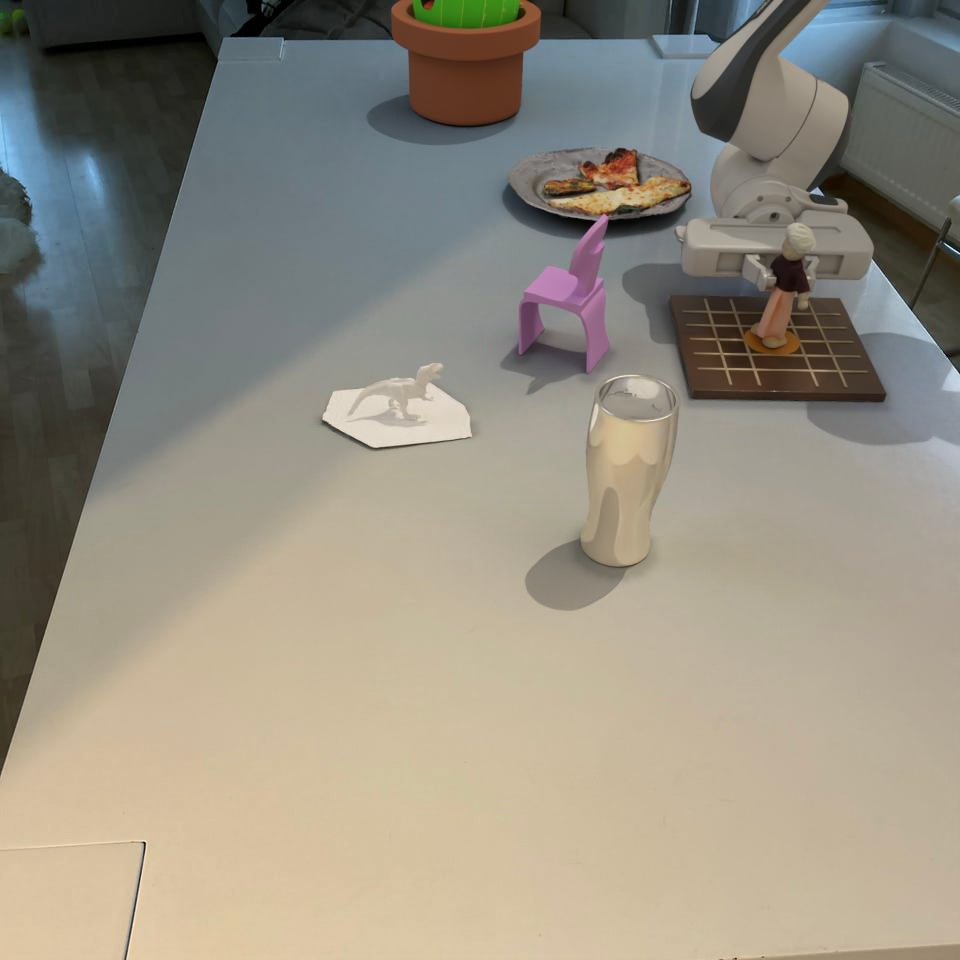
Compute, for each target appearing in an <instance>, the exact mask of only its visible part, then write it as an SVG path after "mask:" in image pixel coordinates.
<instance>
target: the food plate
mask: <svg viewBox="0 0 960 960" xmlns="http://www.w3.org/2000/svg"><path fill="white" fill-rule="evenodd" d="M507 179H508V183H509V185H510V186H511V187H512V190H513V191H514V193H515V194H516V195H518V196H519V197H520V198H521V199H522V200H523V201H524V202H525V203H526V204H528V205H530V206H532V207H534V208H538V209H541V210H544V211H546V212H549V213H551V214H554V215H558V216H560V218H565V219H567V218H568V217H570V218H575V219H576V218H577V219H581V220H586V221H595V222H597V221H598V220H599V219H600V218H601V216H602V215H603V214H605V215H606V216H607V217H608V221H616V220H619V219H620V220H622V219H623V220H627V219H640V218H641V217H648V216H652V215H654V216H657V215H661V216H662V215H666V214H669V213H672V212H673V213H675V212H676V211H679V210H680V209H682V208H683V207H684V205H685V204H686V203H687V202H688V201H689V200H690V199H691V198H692V197H693V192H692V187H693V186H692V183H691V181H689V178H688V177H687V176H686V175H685V173H684V172H683V171H682V170H681V169H679V168H677V167H676V166H674V165H673V164H671V163H669V162H668V161H666V160H665V161H664V160H661V159H659V158H657V157H653V156H651V155H648V154H646V153H641V152H638V149H636V148H633V149H627V148H626V147H617V148H612V149H607V148H599V147H595V146H594V147H585V148H584V147H581V148H577V147H576V148H573V149H572V148H571V149H568V148H567V149H562V150H561V149H559V150H553V151H546V152H544V151H543V152H536V153H534V154H531V155H529V156H526V157H523V158H522V159H520V160H519V161H517V163H516V164H514V165H513V166H512V168H510V170H509V171H508V173H507Z"/></svg>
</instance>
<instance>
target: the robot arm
mask: <svg viewBox="0 0 960 960" xmlns="http://www.w3.org/2000/svg"><path fill="white" fill-rule="evenodd" d="M832 1H833V0H764V1H763V2H762V3H761V4H760V6H759V7H758V8H757V9H756V10H755V11H754V12H753V13H752V14H751V15H750V16H749V17H748V18H747V20H745V21H744V22H743V23H742V24H741V25H740V26H739V27H738V28H736V30H734V31H733V32H732V33H731V34H730V35H729V36H727V37H725V39H724V40H723V41H722V42H720V43H719V44H718V46H717V47H716V48H715V49H714V50H713V51H712V52H711V53H710V54H709V56H708V57H707V58H706V59H705V61H704V62H703V64H702V65H701V66H700V69H699V70H698V72H697V74H696V76H695V77H694V80H693V82H692V86H691V89H690V93H689V99H690V106H691V110H692V114H693V118H694V120H695V124H696V126H697V128H698V131H699V132H700V133H701V134H704V135H706V136H709V137H711V138H713V139H716V140H718V141H719V142H723V143H725V144H727V143H728V144H727V145H726V146H725V147H723V149H721V151H719V153H718V154H717V156H716V158H715V160H714V162H713V165H712V168H711V174H710V180H709V182H710V183H709V192H710V199H711V204H712V207H713V211H714V213H715V216H716V217H696V218H692V219H691V220H689V221H687V222H686V224H682V225H677V226H676V227H675V229H674V236H675V240H676V242H677V243H678V244H680V245H682V250H681V257H680V258H681V261H680V262H681V269H682V271H683V273H684V274H686V275H688V276H690V277H692V278H693V277H694V278H733V279H734V278H735V279H739V278H740V279H745V280H747V281H748V282H750V283H752V284H754V285H756V287H757V290H758V292H771V291H774V289H775V286H774V285H775V284H776V281H777V275H776V274H775V270H774V269H769V268H770V265H771V263H772V262H773V261H774V259H775V258H776V257H777V256H779V255H781V254H783V253H782V244H783V242H784V240H785V239H786V237H785V231H786V229H787V227H788V226H789V225H791V224H793V223H801V224H803V225H805V226H807V227H808V228H810V229H811V230H812V232H813V235H814V238H815V241H816V248H815V249H814V250H813V252H809V253H807V254H805V255H804V257H803V258H801V260H802V264H803V270H804V271H805V273H806V276H807V280H808V283H809V287H810V291H809V293H813V291H814V287H815V284H816V281H817V280H835V281H836V280H838V281H860V280H862V279H863V278H864V277H865V276H866V275H867V273H868V271H869V269H870V265H871V263H872V261H873V255H874V251H875V247H874V246H875V245H874V243H873V240H872V239H871V237H870V235H869V234H868V233H867V231H866V229H865V228H864V226H863V225H862V224H861V223H860V222H859V220H858V219H856V218H855V217H854V216H851V215H849V214H848V209H849V205H848V203H847V202H846V201H845V200H844V199H841V198H836V197H831V196H827V195H821V194H817V193H812V192H814V190H816V189H817V188H819V186H820V185H822V184H823V183H824V182H825V180H827V178H828V177H829V176H830V175H831V174H832V172H833V171H834V170H835V168H837V166H838V164H839V162H840V161H841V159H842V158H843V157H844V155H845V152H846V150H847V148H848V146H849V142H850V138H851V132H852V119H853V117H852V106H851V102H850V99H849V96H848V95H847V94H845V93H844V92H842V91H840V90H839V89H837V88H835V87H834V86H832V85H830V84H829V83H827V82H826V81H824V80H822V79H821V78H819V77H817V76H816V75H814V74H811V73H809V72H808V71H806V70H804V69H803V68H801V67H799V66H797V65H796V64H794V63H792V62H791V61H790V60H788V59H786V58H784V57H783V56H781V55H780V54H781V53H782V52H783V51H784V50H786V48H787V47H788V46H789V45H790V43H792V42H793V41H794V39H796V37H797V36H799V34H800V33H802V32H803V30H804V29H805V28H806V27H807V26H808V25H809V24H810V23H811V22H813V20H814V19H815V18H816V17H817V16H818V15H819V14H820V13H821V11H823V10H824V9H825V8H826V7H827V6H828V5H829V4H830V3H831V2H832Z"/></svg>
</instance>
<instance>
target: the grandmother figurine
mask: <svg viewBox="0 0 960 960" xmlns="http://www.w3.org/2000/svg"><path fill="white" fill-rule="evenodd" d="M785 237H786V239H785V240H784V242H783V244H782V253H783V254H781V255H779V256H777V257H776V258H775V259H774V261H773V262H772V263H771V265H770V268H769V269H774V270H775V274H776V275H777V281H776V284H775V285H774V286H775V289H774V291H770V295H769V297H770V298H769V301H768V303H767V306H766V308H765V311H764V313H763V316H762V319H761V321H760V323H756V324H754V325H753V326H752V327H751V332H752V333H753V334H755V335H758V336H759V337H761V338H763V340H762V343H763V344H764V345H765V346H767V347H770V348H776V347H779V346H782V345H785V344H786V343H787V340H786V337H785V336H784V335H785V332H786V328H787V325H788V322H789V319H790V315H791V311H792V304H793V299H794V297H796V294H797V297H798V300H799V302H798V308H799V309H800V310H805V309H806V308H807V307H808V302H807V300H808V297H809V296H810V295H809V294H810V292H809V291H810V287H809V283H808V280H807V276H806V273H805V271H804V270H803V264H802V260H801V258H803V257H804V255H805V254H807V253H809V252H813V250H814V249H815V248H816V241H815V238H814V235H813V232H812V230H811V229H810V228H808V227H807V226H805V225H803V224H801V223H793V224H791V225H789V226H788V227H787V229H786V231H785Z"/></svg>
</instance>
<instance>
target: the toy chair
mask: <svg viewBox="0 0 960 960" xmlns="http://www.w3.org/2000/svg"><path fill="white" fill-rule="evenodd" d="M608 223H609V220H608V217H607V216H606V215H605V214H603V215H602V216H601V218H600V219H599V220H598V221H595V223H594V224H593V225H591V226H590V228H589V229H588V230H587V232H585V234H584V235H583V236H582V238H581V239H580V240H579V242H578V243H577V245H576V246H575V249H574V251H573V253H572V257H571V261H570V266H569V268H568V270H566V269H563V268H559V267H556V266H551V265H547V267H545V268H544V269H543V270H542V272H541V273H540V275H539V276H538V277H537V278H536V279H535V280H534V281H533V282H532V283H531V284H529V285H528V287H527V288H526V289H524V291H523V298H522V299H521V300H520V302H519V305H518V355H521V356H522V355H523V354H525V352H526V351H527V350H528V349H529V348H530V346H531V345H532V344H533V343H534V342H535V341H536V339H538V337H539V336H540V335H541V334H542V333H543V331H544V330H545V326H544V323H543V320H542V318H541V313H540V308H539V307H540V306H539V304H540V305H541V304H542V305H547V306H552V307H555V308H558V309H561V310H564V311H565V312H566V311H567V312H570V313H572V314H574V315H576V316H578V317H579V319H580V321H581V323H582V326H583V330H584V333H585V341H586V367H585V369H586V371H585V372H586V374H590V373H591V372H592V371H593V369H594V368H595V367H596V366H597V364H598V363H599V362H600V361H601V359H602V358H603V356H604V355H605V354H606V353H607V351H608V350H609V348H611V343H610V340H609V337H608V334H607V330H606V322H605V321H606V319H605V317H606V301H607V294H606V290H605V288H604V278H601V277H598V273H599V269H600V265H601V261H602V257H603V253H604V249H605V246H606V243H605V242H602V241H603V239H604V238H605V234H606V231H607V228H608Z"/></svg>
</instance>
